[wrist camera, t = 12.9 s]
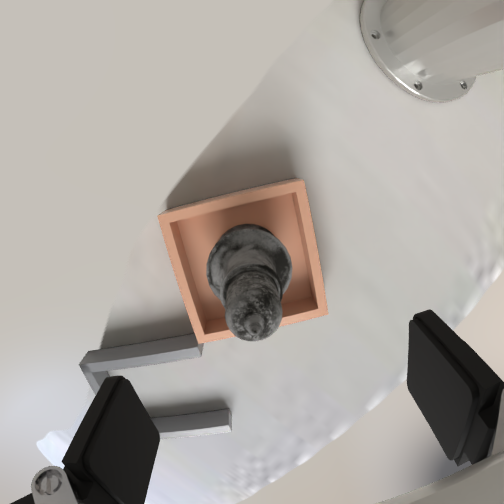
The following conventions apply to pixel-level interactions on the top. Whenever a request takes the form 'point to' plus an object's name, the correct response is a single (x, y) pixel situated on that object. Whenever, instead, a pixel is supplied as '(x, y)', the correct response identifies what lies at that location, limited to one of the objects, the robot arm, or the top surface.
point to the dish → (236, 213)
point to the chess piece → (250, 279)
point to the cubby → (152, 354)
